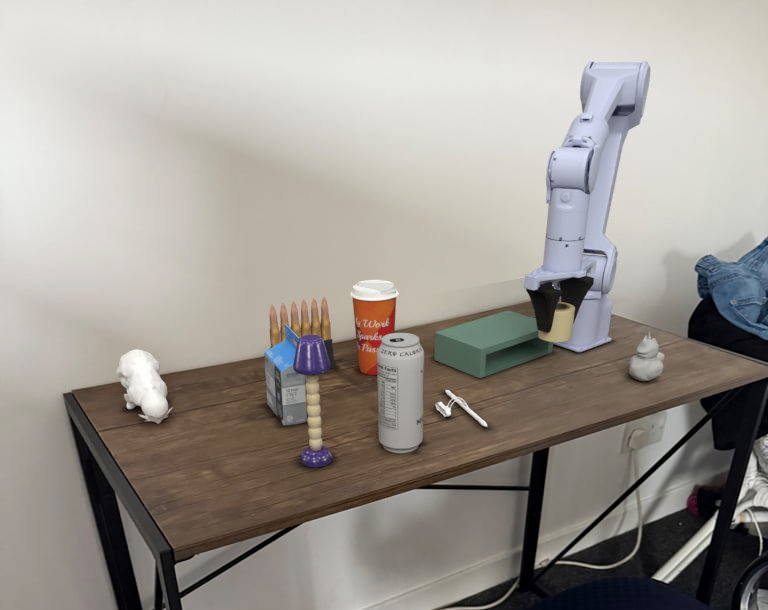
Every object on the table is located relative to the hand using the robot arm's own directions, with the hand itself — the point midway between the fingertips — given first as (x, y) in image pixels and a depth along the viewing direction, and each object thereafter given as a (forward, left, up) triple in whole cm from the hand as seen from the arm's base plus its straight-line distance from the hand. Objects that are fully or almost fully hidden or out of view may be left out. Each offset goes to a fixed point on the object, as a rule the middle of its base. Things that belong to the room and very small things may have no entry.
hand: (555, 326), depth 119 cm
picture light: (+21, 0, -9) cm, 23 cm away
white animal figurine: (+56, -30, -9) cm, 64 cm away
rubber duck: (-11, +11, -9) cm, 17 cm away
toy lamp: (+45, -1, -9) cm, 46 cm away
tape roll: (0, 0, -2) cm, 2 cm away
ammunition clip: (+29, -28, -9) cm, 42 cm away
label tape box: (+40, -16, -9) cm, 44 cm away
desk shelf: (0, -12, -8) cm, 15 cm away
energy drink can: (+34, +3, -9) cm, 35 cm away
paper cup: (+19, -21, -9) cm, 30 cm away
